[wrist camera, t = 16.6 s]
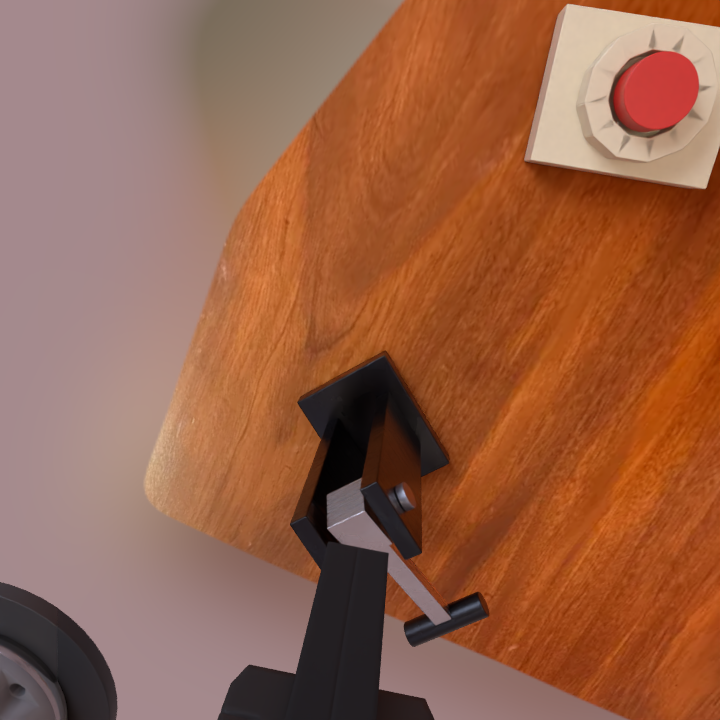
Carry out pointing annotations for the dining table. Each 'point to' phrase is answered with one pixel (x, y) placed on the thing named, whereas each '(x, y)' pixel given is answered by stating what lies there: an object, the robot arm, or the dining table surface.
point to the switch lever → (399, 568)
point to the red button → (656, 92)
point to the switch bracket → (368, 454)
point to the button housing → (596, 91)
